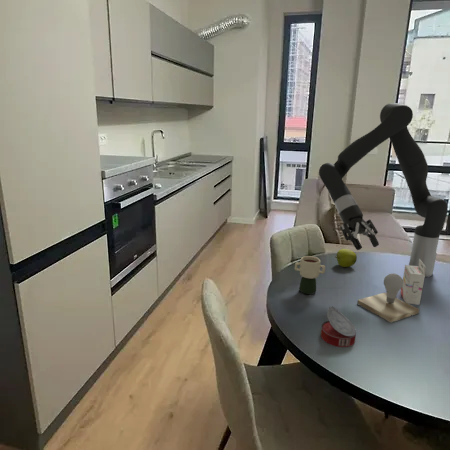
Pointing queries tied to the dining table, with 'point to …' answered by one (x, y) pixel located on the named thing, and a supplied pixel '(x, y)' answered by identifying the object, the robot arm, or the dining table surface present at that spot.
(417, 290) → the ink cartridge box
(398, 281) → the lightbulb
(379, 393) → the dining table surface
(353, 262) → the apple
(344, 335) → the canned food
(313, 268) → the character mug
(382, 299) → the birch board
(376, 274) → the dining table surface
